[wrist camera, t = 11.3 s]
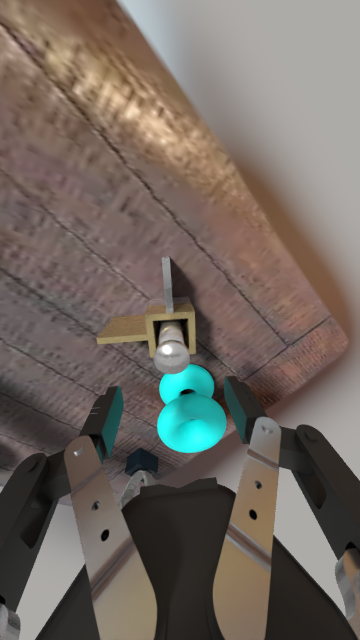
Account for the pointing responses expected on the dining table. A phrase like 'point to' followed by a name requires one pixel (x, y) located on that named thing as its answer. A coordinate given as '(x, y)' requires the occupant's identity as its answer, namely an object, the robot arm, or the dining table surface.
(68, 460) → the robot arm
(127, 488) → the watch
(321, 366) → the dining table surface
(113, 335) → the bracket
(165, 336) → the hinge pin
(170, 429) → the donuts
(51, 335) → the dining table surface
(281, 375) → the dining table surface
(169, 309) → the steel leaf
